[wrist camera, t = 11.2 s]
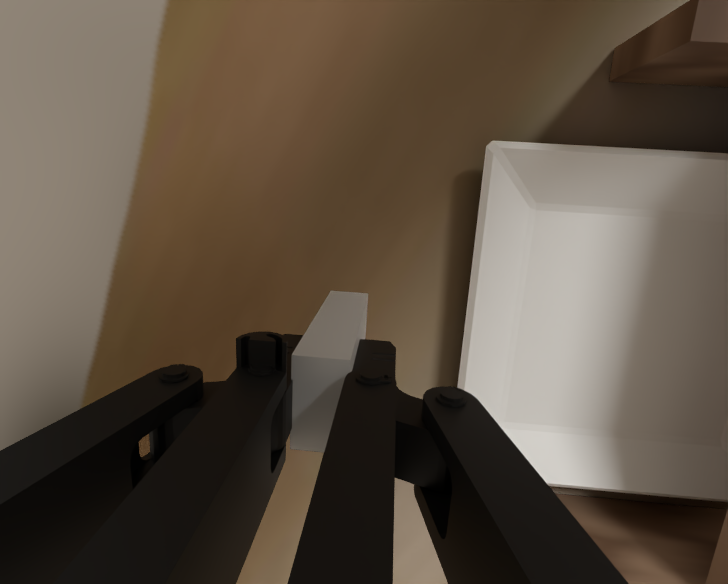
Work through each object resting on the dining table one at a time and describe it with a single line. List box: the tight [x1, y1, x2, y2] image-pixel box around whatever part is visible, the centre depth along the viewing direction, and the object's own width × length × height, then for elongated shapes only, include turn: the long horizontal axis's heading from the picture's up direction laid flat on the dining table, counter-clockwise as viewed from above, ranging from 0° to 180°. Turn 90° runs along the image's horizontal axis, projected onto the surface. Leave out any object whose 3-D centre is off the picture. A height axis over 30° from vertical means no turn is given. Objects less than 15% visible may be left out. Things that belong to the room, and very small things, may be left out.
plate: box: [457, 141, 728, 502], centre depth 23 cm, size 19×19×2 cm
